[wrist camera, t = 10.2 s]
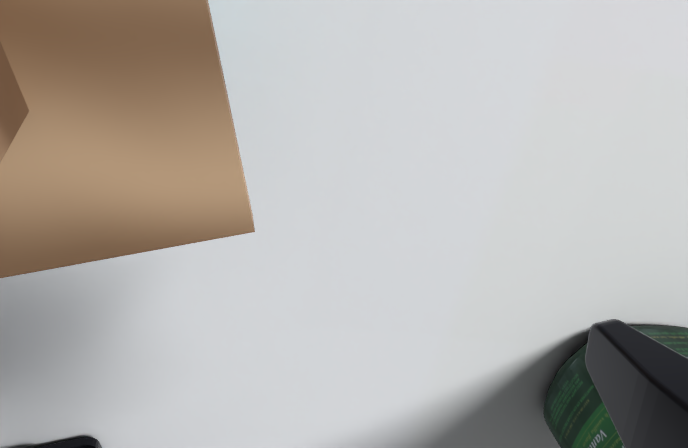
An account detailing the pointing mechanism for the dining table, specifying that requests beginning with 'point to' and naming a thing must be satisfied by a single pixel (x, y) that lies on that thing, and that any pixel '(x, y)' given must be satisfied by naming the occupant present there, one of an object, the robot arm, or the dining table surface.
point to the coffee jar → (593, 397)
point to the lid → (113, 132)
